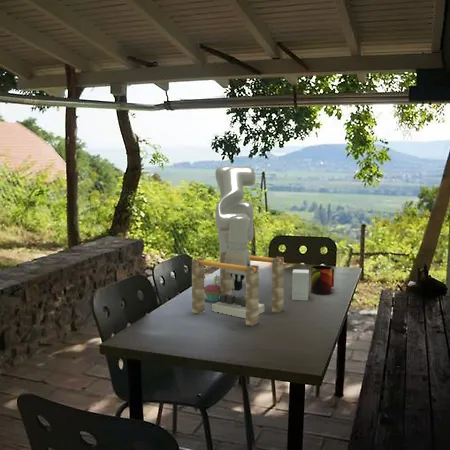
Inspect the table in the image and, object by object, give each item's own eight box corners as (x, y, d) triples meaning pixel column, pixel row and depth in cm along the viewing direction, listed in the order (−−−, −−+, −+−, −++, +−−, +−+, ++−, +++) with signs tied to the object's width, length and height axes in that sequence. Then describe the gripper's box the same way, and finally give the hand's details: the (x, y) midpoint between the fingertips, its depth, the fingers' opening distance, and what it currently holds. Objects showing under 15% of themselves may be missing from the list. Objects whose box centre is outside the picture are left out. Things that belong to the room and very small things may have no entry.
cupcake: (225, 298, 224) (225, 272, 222) (217, 303, 216) (217, 276, 214) (208, 296, 227) (208, 271, 226) (199, 301, 220) (199, 275, 218)
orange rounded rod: (193, 264, 201) (193, 259, 201) (196, 263, 203) (196, 259, 202) (254, 273, 185) (254, 268, 184) (257, 272, 186) (257, 267, 186)
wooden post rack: (192, 312, 203) (191, 259, 200) (226, 299, 222) (226, 250, 220) (252, 326, 186) (252, 267, 183) (283, 310, 206) (283, 257, 203)
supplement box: (308, 300, 220) (308, 273, 218) (291, 300, 221) (291, 272, 220) (308, 296, 227) (309, 269, 226) (292, 295, 229) (292, 268, 227)
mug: (333, 288, 241) (334, 264, 240) (330, 295, 228) (330, 270, 227) (313, 287, 244) (314, 263, 243) (309, 294, 231) (309, 269, 230)
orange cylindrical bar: (221, 256, 217) (221, 252, 217) (224, 256, 219) (224, 251, 219) (280, 264, 201) (280, 259, 201) (282, 263, 202) (282, 258, 202)
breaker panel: (212, 311, 205) (211, 297, 204) (228, 304, 214) (228, 291, 214) (248, 319, 194) (248, 304, 194) (264, 311, 204) (264, 297, 203)
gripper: (217, 245, 202) (218, 289, 204) (248, 249, 194) (248, 294, 196) (228, 243, 208) (228, 285, 211) (258, 246, 200) (258, 290, 202)
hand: (238, 289), depth 203 cm, fingers closed
